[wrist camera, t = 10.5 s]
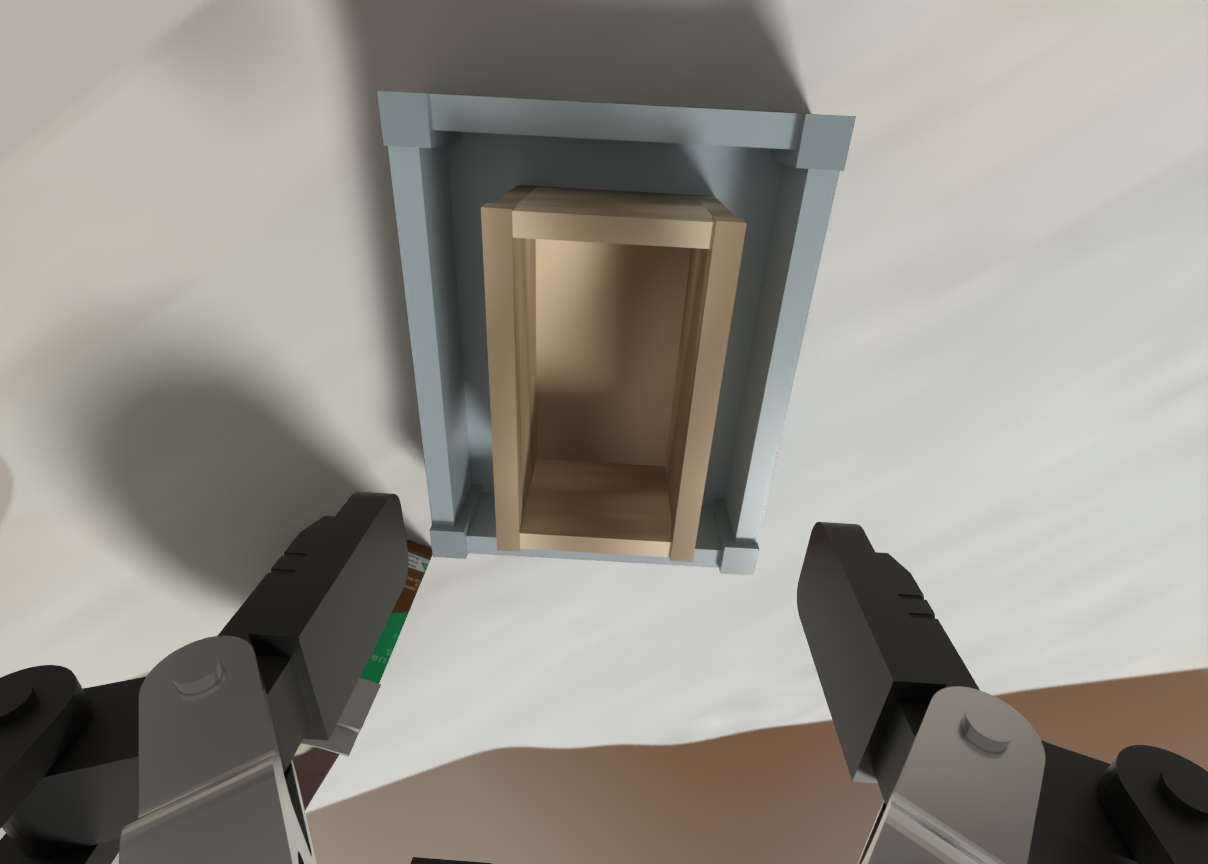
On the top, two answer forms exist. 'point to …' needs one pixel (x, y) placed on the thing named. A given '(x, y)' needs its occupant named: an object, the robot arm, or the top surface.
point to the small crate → (605, 364)
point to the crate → (624, 163)
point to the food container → (360, 688)
